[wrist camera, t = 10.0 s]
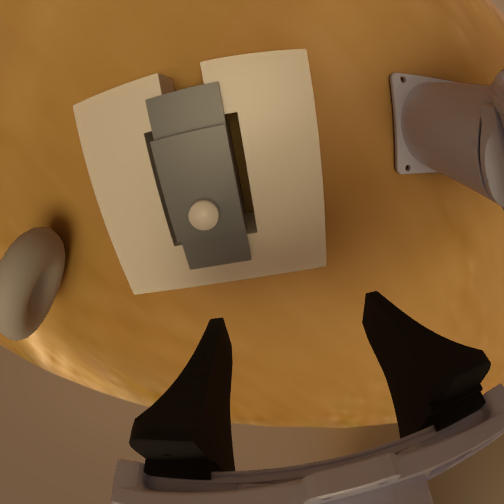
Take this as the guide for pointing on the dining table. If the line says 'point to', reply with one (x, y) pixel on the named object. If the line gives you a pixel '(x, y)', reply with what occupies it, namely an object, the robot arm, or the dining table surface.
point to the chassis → (257, 160)
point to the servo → (199, 175)
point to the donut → (29, 281)
